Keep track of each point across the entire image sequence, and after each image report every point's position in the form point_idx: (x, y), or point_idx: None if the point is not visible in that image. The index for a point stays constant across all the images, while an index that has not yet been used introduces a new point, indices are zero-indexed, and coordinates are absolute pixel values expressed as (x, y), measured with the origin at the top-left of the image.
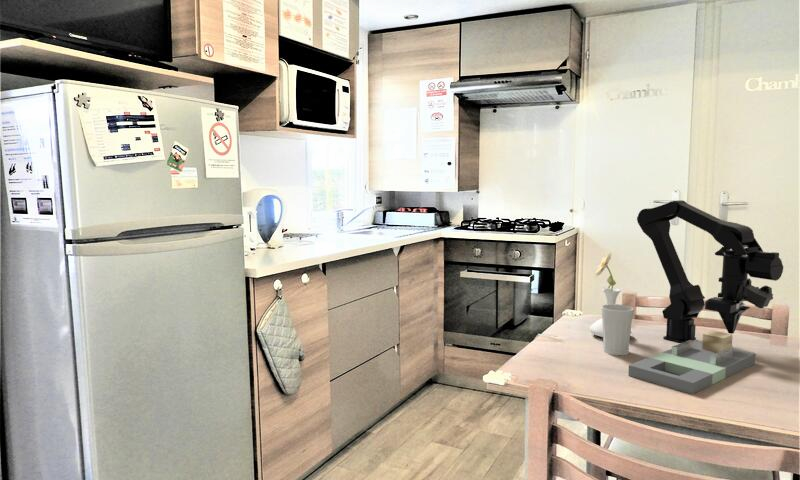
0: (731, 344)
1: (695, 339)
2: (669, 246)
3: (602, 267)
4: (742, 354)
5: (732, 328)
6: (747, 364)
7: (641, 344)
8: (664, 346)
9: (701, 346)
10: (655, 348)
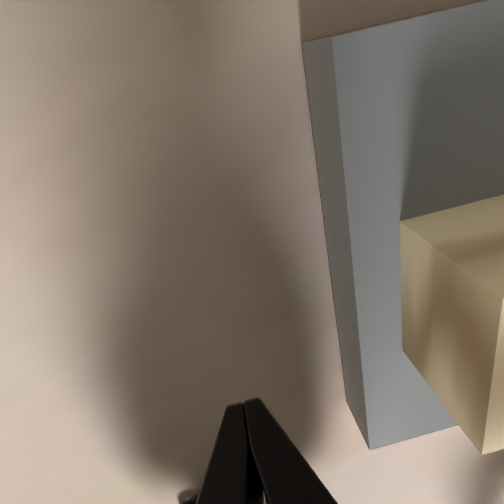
0: (438, 240)
1: (190, 502)
2: None
3: None
4: (463, 86)
5: (291, 442)
6: (466, 4)
7: (464, 496)
8: (417, 461)
9: None
10: None
